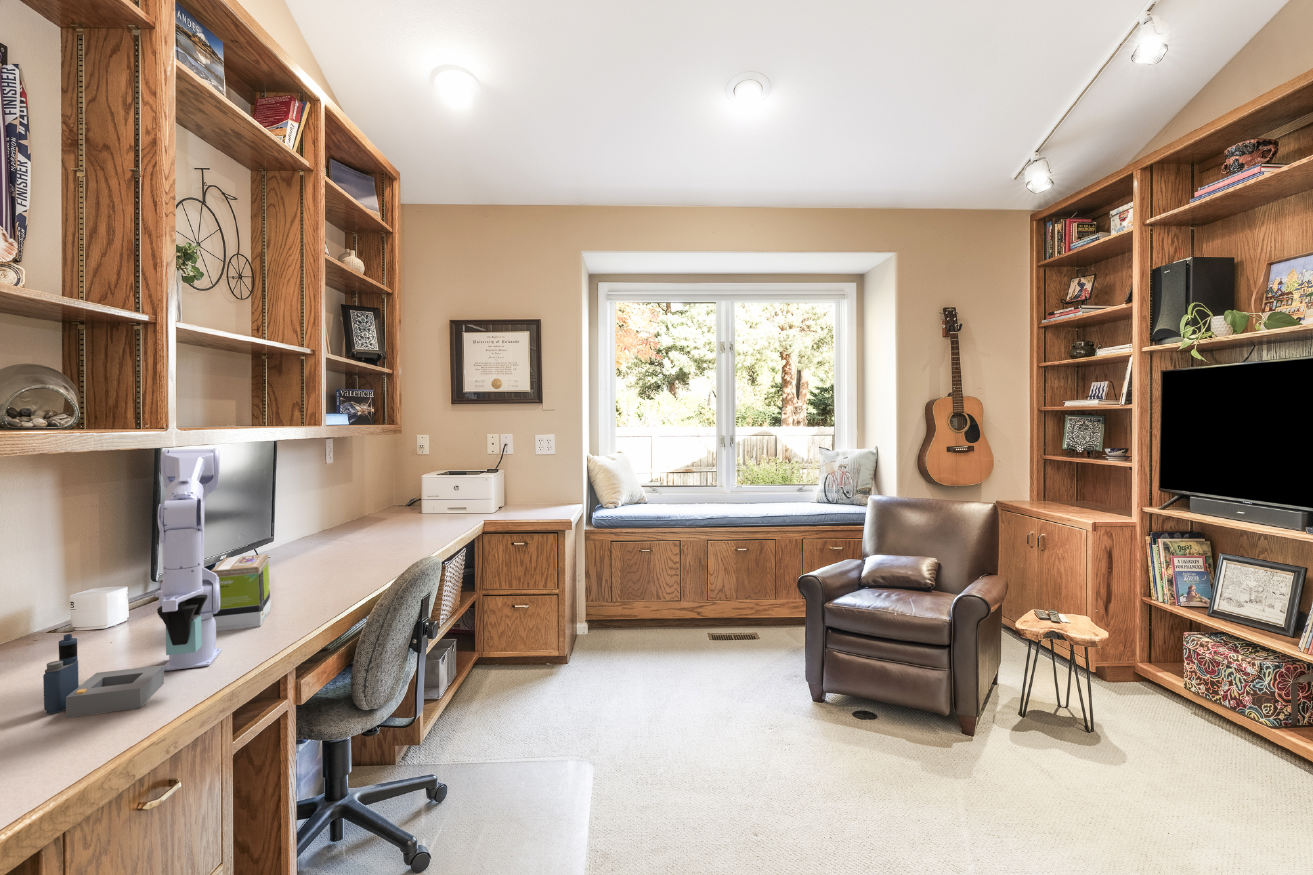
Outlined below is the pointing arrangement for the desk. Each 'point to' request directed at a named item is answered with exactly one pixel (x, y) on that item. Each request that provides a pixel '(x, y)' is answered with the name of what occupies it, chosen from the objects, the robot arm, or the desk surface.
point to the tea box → (243, 592)
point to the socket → (115, 691)
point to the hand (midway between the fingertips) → (184, 640)
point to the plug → (193, 641)
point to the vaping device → (61, 676)
